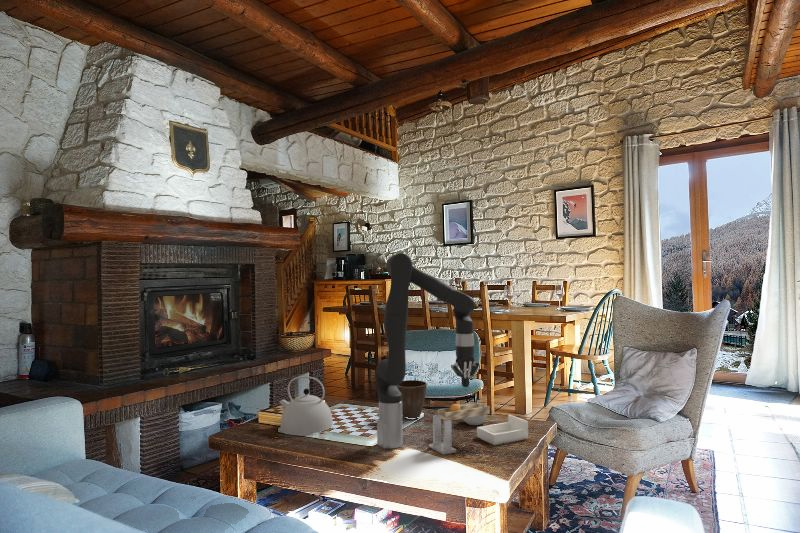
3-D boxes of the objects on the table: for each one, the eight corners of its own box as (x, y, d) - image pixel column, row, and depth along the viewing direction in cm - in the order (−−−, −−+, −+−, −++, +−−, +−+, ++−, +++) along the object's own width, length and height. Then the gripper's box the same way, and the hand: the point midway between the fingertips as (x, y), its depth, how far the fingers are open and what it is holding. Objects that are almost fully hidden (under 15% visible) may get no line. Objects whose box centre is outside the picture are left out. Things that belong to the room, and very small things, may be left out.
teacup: (487, 426, 226) (487, 408, 226) (462, 427, 227) (462, 408, 227) (483, 418, 240) (483, 400, 240) (459, 418, 240) (459, 400, 241)
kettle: (265, 432, 222) (265, 379, 222) (291, 418, 244) (291, 370, 244) (318, 437, 215) (318, 382, 215) (340, 422, 236) (340, 372, 237)
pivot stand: (442, 454, 192) (442, 422, 192) (429, 446, 201) (428, 415, 201) (456, 452, 195) (455, 419, 195) (442, 444, 204) (441, 413, 204)
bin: (494, 445, 202) (494, 427, 202) (477, 437, 212) (476, 419, 212) (528, 438, 209) (528, 421, 210) (509, 431, 220) (509, 414, 220)
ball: (453, 416, 198) (453, 405, 198) (448, 413, 202) (448, 403, 202) (462, 414, 200) (462, 404, 200) (456, 412, 204) (456, 402, 204)
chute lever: (446, 421, 195) (446, 413, 196) (426, 411, 209) (426, 404, 209) (489, 414, 204) (489, 406, 205) (467, 405, 218) (467, 398, 218)
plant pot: (412, 424, 231) (412, 388, 231) (388, 418, 241) (388, 383, 241) (433, 417, 242) (433, 382, 243) (409, 411, 252) (409, 378, 253)
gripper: (456, 346, 206) (457, 390, 206) (483, 344, 212) (484, 386, 212) (446, 344, 213) (446, 387, 213) (472, 342, 219) (473, 383, 219)
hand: (465, 386), depth 212 cm, fingers closed
